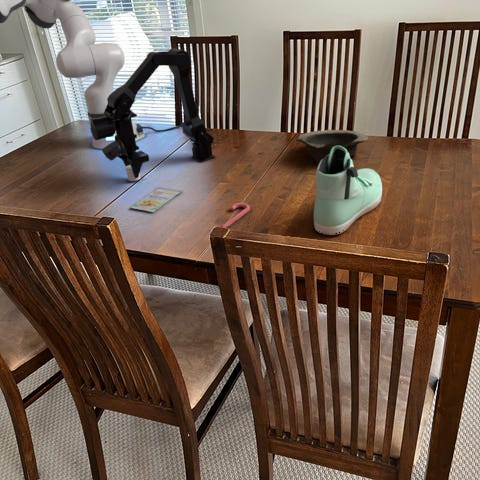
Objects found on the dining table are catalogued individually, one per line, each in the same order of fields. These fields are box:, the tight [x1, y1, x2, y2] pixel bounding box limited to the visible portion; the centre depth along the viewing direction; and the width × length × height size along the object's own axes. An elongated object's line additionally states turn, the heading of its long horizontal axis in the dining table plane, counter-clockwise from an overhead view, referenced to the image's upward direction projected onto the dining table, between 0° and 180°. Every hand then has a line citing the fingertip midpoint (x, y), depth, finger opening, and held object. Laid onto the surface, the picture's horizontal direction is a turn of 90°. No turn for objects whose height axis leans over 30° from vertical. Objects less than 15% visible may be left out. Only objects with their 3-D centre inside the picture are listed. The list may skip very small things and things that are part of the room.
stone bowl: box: [296, 129, 369, 165], centre depth 171 cm, size 25×25×9 cm
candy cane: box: [220, 202, 251, 229], centre depth 139 cm, size 6×15×2 cm, turn 145°
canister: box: [125, 165, 142, 182], centre depth 166 cm, size 4×4×4 cm
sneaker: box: [313, 146, 383, 236], centre depth 133 cm, size 14×35×20 cm, turn 152°
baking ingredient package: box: [130, 188, 181, 213], centre depth 152 cm, size 9×1×15 cm
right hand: (133, 175), depth 167 cm, fingers closed on canister, 4 cm apart
